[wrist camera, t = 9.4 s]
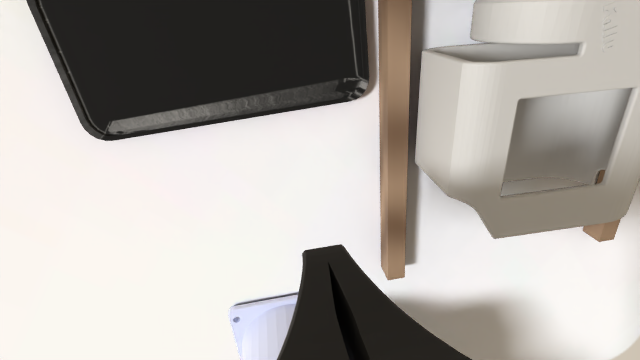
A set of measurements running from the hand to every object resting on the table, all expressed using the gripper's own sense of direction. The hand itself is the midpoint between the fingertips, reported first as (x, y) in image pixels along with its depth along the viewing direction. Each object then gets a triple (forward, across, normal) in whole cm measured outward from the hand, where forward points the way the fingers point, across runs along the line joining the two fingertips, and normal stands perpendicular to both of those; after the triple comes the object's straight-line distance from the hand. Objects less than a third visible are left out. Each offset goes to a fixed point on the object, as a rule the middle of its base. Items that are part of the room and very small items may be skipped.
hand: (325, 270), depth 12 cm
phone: (+11, +3, -6) cm, 13 cm away
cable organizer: (+11, -13, -2) cm, 17 cm away
